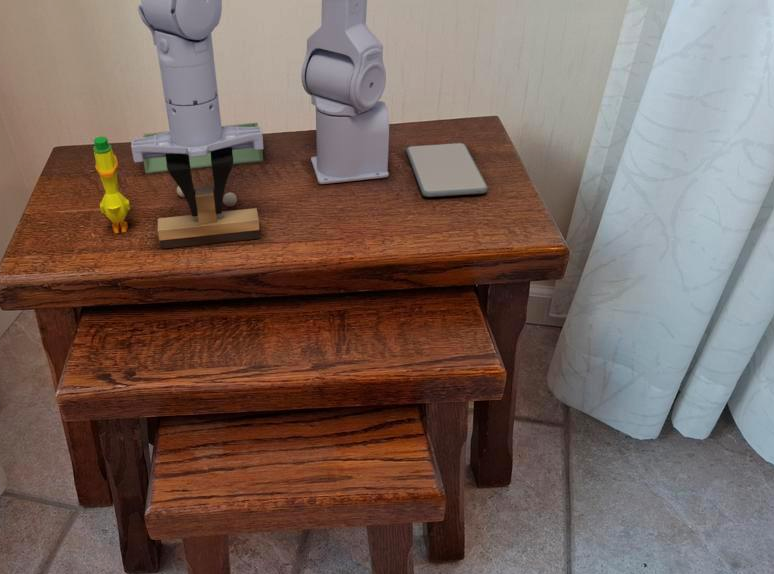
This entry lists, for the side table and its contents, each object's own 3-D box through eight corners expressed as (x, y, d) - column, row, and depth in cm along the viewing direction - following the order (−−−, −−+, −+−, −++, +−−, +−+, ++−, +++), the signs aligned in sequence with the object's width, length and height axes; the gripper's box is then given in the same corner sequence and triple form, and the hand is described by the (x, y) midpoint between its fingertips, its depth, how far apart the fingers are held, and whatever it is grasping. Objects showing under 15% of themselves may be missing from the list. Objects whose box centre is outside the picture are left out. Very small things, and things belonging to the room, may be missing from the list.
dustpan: (263, 161, 109) (261, 142, 107) (145, 173, 108) (142, 154, 107) (257, 135, 116) (256, 116, 114) (147, 146, 116) (144, 128, 114)
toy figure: (106, 217, 99) (86, 126, 91) (134, 213, 99) (116, 123, 91) (106, 243, 94) (84, 149, 86) (135, 239, 94) (116, 145, 86)
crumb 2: (237, 202, 100) (235, 189, 99) (238, 208, 99) (236, 195, 97) (223, 203, 100) (222, 190, 99) (224, 209, 99) (222, 197, 97)
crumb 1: (190, 193, 103) (189, 180, 102) (191, 199, 101) (189, 186, 100) (177, 194, 103) (175, 181, 102) (177, 200, 101) (175, 188, 100)
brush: (258, 226, 94) (254, 180, 90) (260, 239, 92) (256, 191, 88) (161, 237, 94) (152, 190, 90) (160, 249, 92) (152, 202, 88)
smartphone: (464, 142, 108) (489, 188, 96) (464, 148, 108) (488, 195, 97) (405, 145, 108) (423, 192, 96) (405, 152, 108) (422, 200, 97)
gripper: (121, 117, 79) (144, 234, 87) (262, 102, 79) (270, 220, 88) (125, 93, 84) (146, 205, 93) (256, 79, 84) (264, 193, 93)
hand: (206, 211), depth 91 cm, fingers closed on brush, 2 cm apart
